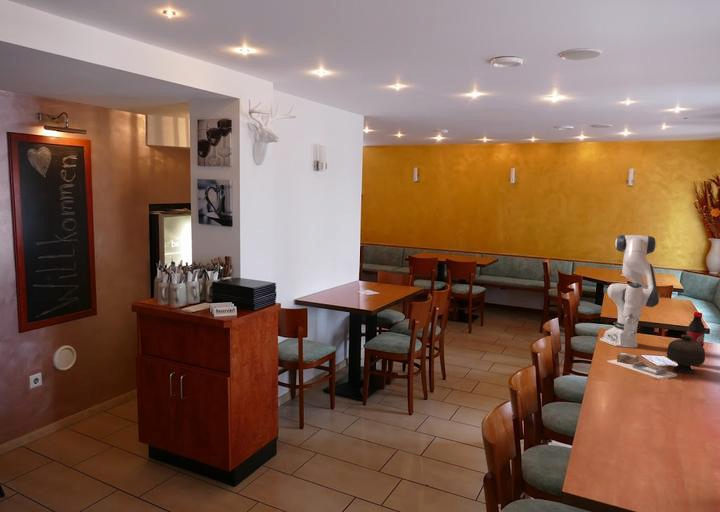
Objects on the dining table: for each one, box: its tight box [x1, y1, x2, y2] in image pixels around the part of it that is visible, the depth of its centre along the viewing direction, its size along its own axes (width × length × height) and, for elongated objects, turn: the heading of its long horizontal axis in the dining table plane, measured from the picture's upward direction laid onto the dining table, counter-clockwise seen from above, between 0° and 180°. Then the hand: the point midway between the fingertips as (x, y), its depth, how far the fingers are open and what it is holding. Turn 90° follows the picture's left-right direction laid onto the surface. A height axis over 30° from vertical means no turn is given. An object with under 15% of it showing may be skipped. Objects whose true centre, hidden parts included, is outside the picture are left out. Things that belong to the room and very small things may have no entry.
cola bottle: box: [686, 311, 706, 367], centre depth 298 cm, size 8×8×30 cm
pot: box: [666, 334, 706, 375], centre depth 286 cm, size 18×18×20 cm
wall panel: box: [607, 358, 678, 381], centre depth 286 cm, size 30×16×4 cm, turn 28°
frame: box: [616, 352, 640, 365], centre depth 294 cm, size 10×6×4 cm, turn 53°
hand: (629, 337), depth 292 cm, fingers open, 8 cm apart
